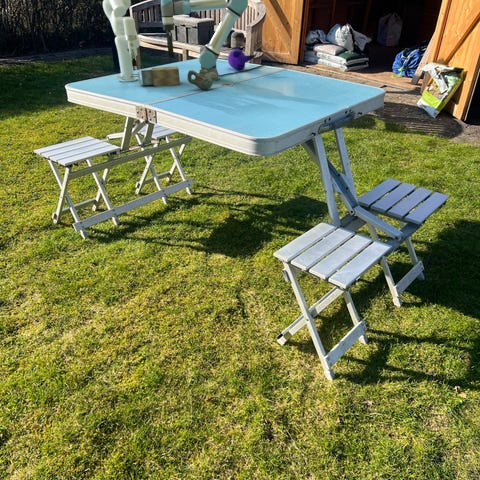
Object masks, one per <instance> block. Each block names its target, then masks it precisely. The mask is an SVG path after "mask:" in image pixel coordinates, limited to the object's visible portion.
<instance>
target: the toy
mask: <svg viewBox="0 0 480 480" xmlns="http://www.w3.org/2000/svg"><path fill="white" fill-rule="evenodd" d="M257 55H258V54H250V55H245V53H244V52H243V50H241V49H239V48H235V49H233V50H231V51H230V52H229V53H228V56H227V63H228V64H229V66H230V67H231V68H232V69H235V70H236V71H237V72H239V71H243V70H244V69H245V68H246V63H247V62H249V61H251V60H252V59H254V58H256V57H257Z"/></svg>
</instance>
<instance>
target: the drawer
mask: <svg viewBox="0 0 480 480" xmlns="http://www.w3.org/2000/svg"><path fill="white" fill-rule="evenodd" d="M133 75H134V76H133ZM140 75H141V76H140ZM132 77H135V78H137V79H138V86H139V87H141V86H151V85H152V86H154V81H153V72H152V69H144V70H143V69H142V70H139V69H137V73H134V74H132V73H131V74H130V78H132ZM141 81H142V82H141Z"/></svg>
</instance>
